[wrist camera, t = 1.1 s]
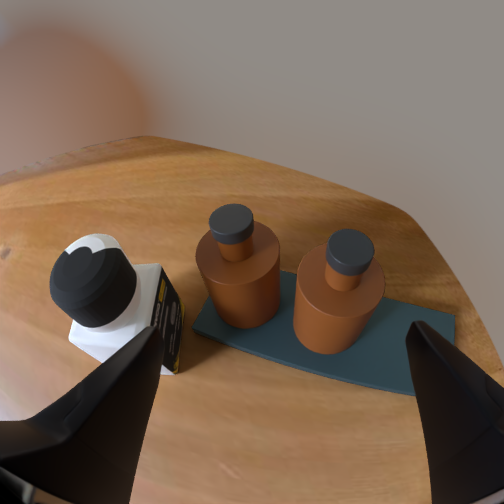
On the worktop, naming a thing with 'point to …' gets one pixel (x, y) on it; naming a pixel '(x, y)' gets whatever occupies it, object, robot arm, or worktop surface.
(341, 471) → the worktop surface
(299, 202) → the worktop surface
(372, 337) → the tray
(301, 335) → the amber bottle near
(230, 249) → the amber bottle far
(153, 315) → the medicine bottle
